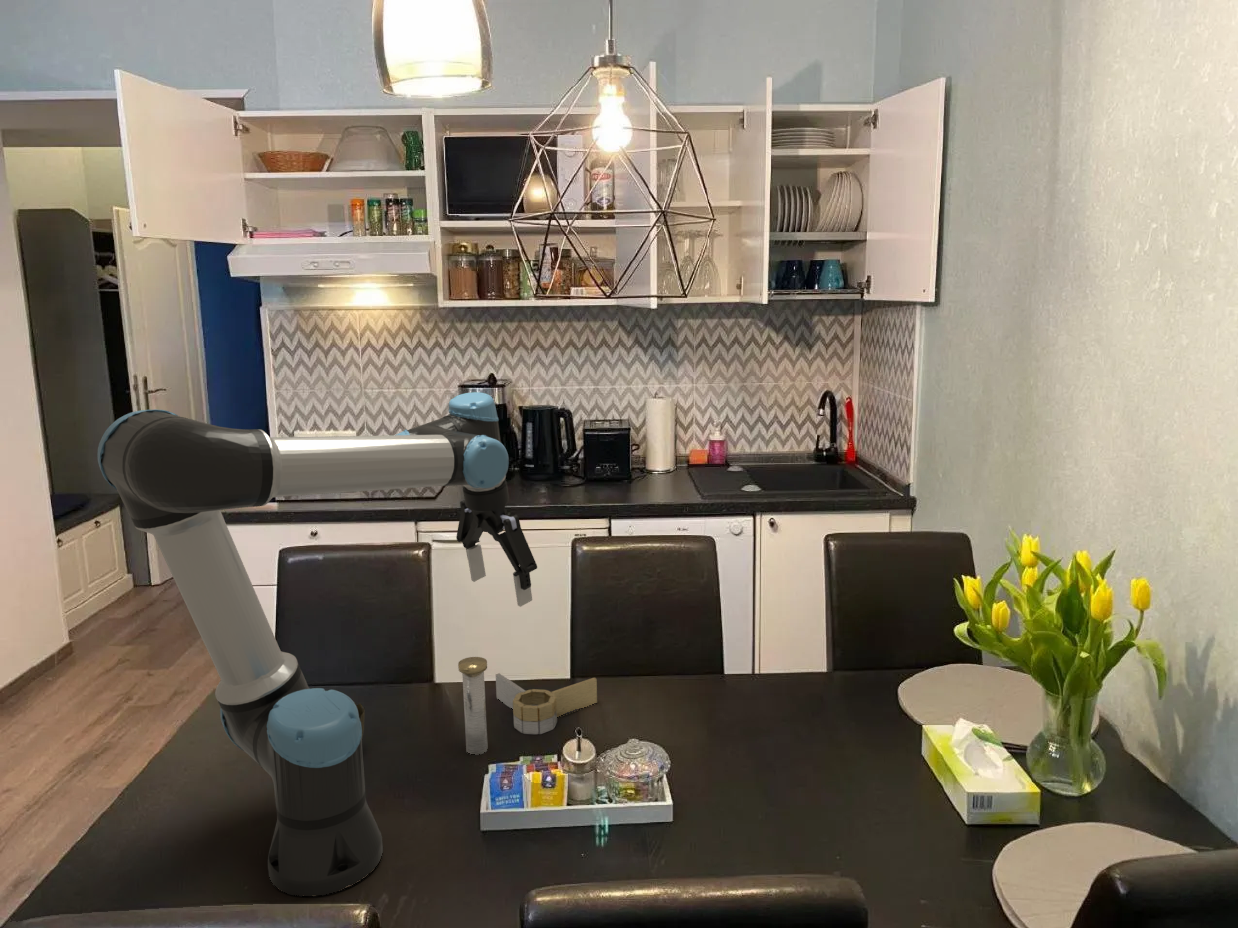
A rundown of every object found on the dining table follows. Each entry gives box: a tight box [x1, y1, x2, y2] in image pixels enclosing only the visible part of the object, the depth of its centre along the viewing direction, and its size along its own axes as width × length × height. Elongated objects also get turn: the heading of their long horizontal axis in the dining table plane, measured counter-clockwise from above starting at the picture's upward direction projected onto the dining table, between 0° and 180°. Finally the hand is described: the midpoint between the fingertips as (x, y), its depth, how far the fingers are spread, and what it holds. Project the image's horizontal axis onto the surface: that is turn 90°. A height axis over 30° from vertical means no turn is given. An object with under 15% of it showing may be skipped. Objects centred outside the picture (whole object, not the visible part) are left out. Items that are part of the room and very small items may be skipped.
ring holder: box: [495, 672, 598, 735], centre depth 165 cm, size 14×20×5 cm
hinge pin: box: [457, 656, 488, 756], centre depth 152 cm, size 5×5×16 cm
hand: (501, 590), depth 160 cm, fingers open, 13 cm apart
